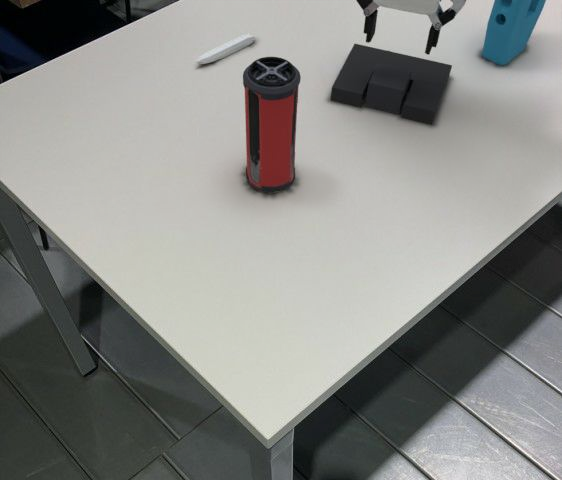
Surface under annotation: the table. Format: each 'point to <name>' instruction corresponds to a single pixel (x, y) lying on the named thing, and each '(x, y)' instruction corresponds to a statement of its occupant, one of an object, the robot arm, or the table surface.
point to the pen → (226, 49)
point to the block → (510, 28)
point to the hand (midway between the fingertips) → (399, 44)
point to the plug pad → (388, 88)
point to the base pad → (425, 73)
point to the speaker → (271, 122)
